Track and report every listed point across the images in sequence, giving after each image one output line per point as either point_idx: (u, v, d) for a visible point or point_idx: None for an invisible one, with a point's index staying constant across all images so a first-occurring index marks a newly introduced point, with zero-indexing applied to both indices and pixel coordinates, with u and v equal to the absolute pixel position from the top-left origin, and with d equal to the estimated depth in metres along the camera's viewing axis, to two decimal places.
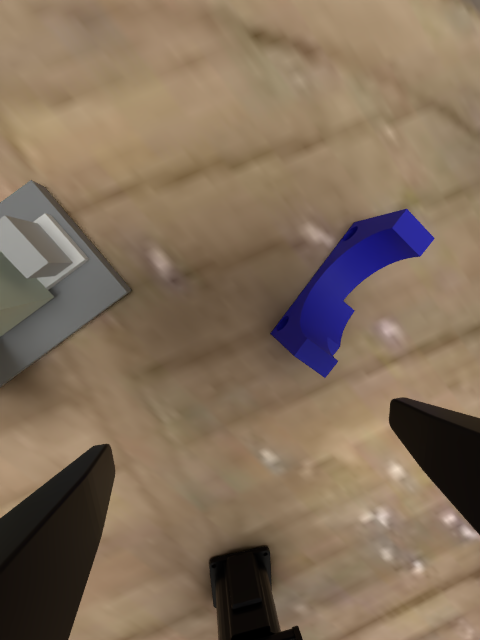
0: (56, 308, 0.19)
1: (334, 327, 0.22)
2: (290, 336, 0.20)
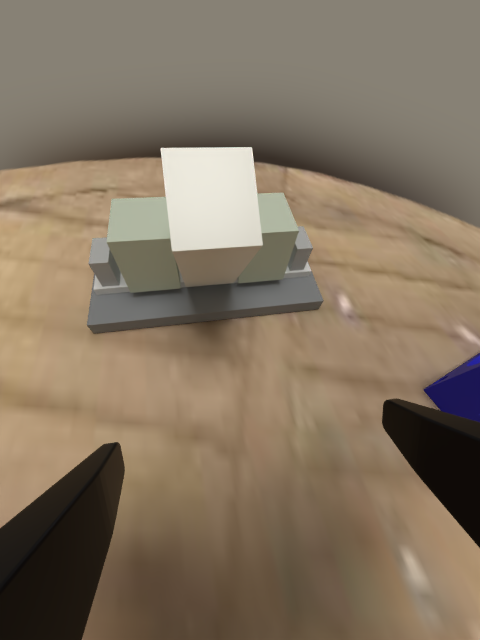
0: (274, 289, 0.26)
1: None
2: (461, 372, 0.21)
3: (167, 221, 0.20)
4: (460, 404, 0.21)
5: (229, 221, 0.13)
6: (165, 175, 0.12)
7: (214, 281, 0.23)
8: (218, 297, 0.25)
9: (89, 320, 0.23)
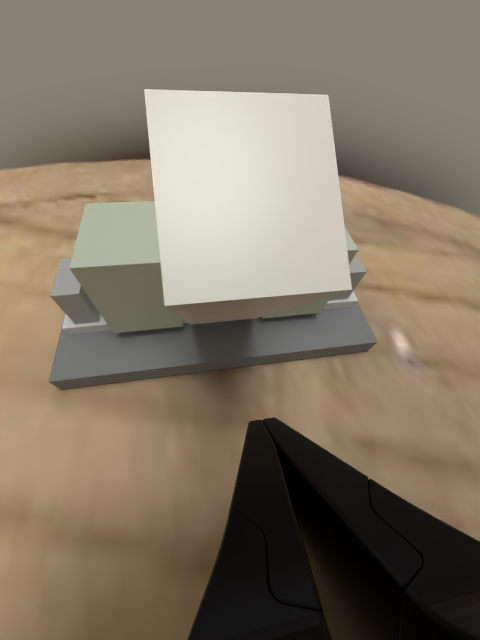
0: (309, 325, 0.19)
1: None
2: None
3: None
4: None
5: (285, 241, 0.06)
6: (153, 145, 0.06)
7: (231, 319, 0.16)
8: (234, 337, 0.18)
9: (53, 374, 0.16)
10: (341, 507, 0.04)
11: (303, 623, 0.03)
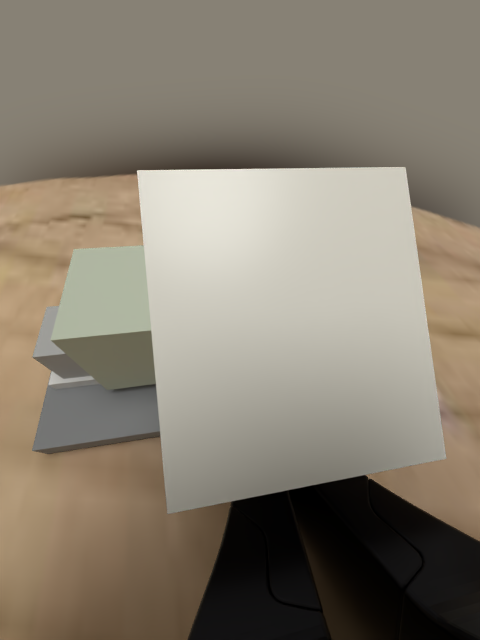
0: None
1: None
2: None
3: None
4: None
5: (349, 392, 0.04)
6: (151, 256, 0.04)
7: None
8: None
9: (37, 440, 0.14)
10: (341, 507, 0.04)
11: (303, 622, 0.03)
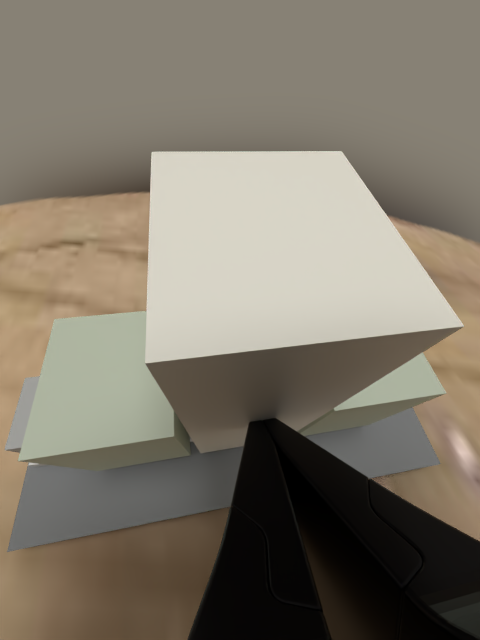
0: (352, 439, 0.15)
1: None
2: None
3: None
4: None
5: (334, 267, 0.04)
6: (155, 187, 0.05)
7: None
8: None
9: (14, 537, 0.12)
10: (341, 507, 0.04)
11: (303, 623, 0.03)
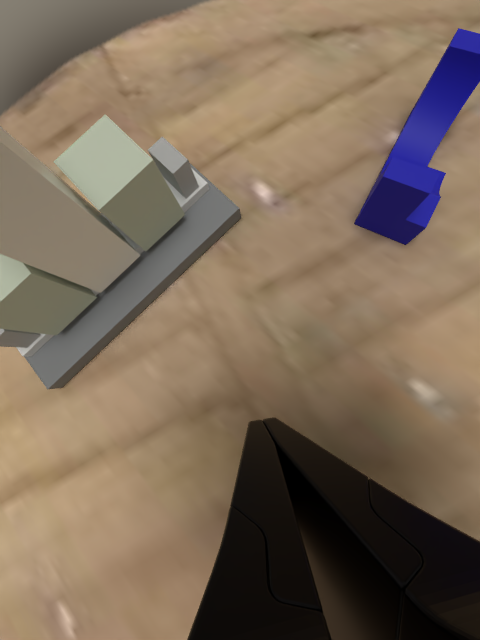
0: (185, 230, 0.22)
1: None
2: (374, 187, 0.19)
3: None
4: (387, 219, 0.20)
5: None
6: None
7: (109, 262, 0.19)
8: (138, 278, 0.22)
9: (45, 383, 0.22)
10: (341, 507, 0.04)
11: (303, 624, 0.03)
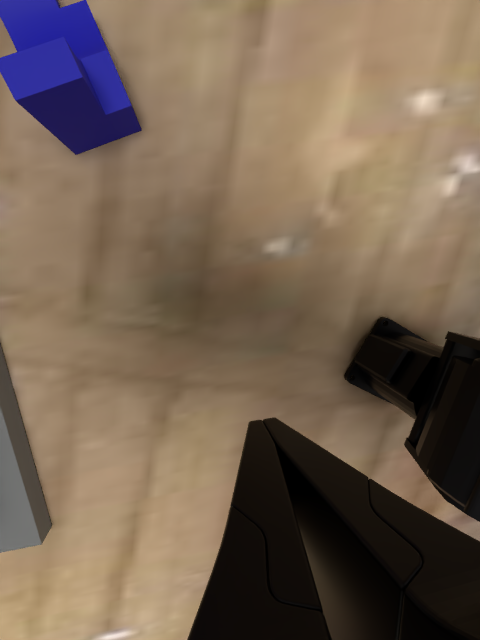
0: None
1: (85, 45, 0.14)
2: None
3: None
4: (92, 127, 0.15)
5: None
6: None
7: None
8: None
9: (34, 544, 0.20)
10: (341, 507, 0.04)
11: (303, 624, 0.03)
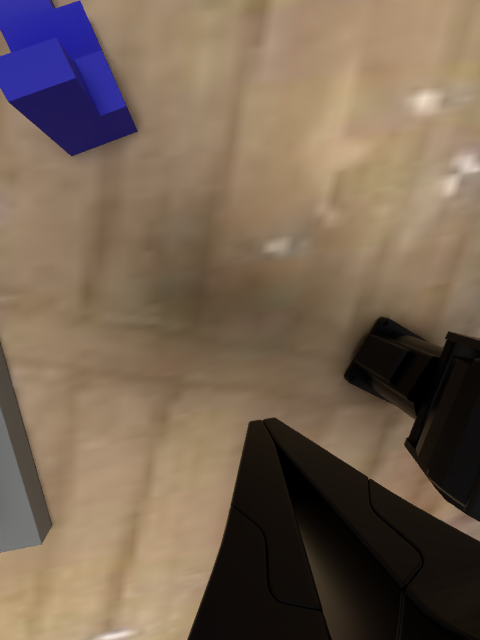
0: None
1: (80, 46, 0.14)
2: None
3: None
4: (87, 128, 0.15)
5: None
6: None
7: None
8: None
9: (34, 544, 0.20)
10: (341, 507, 0.04)
11: (302, 623, 0.03)
